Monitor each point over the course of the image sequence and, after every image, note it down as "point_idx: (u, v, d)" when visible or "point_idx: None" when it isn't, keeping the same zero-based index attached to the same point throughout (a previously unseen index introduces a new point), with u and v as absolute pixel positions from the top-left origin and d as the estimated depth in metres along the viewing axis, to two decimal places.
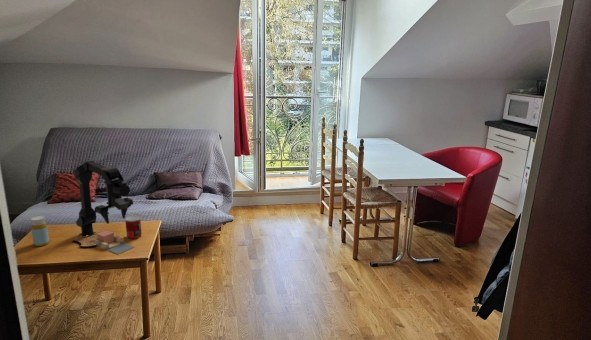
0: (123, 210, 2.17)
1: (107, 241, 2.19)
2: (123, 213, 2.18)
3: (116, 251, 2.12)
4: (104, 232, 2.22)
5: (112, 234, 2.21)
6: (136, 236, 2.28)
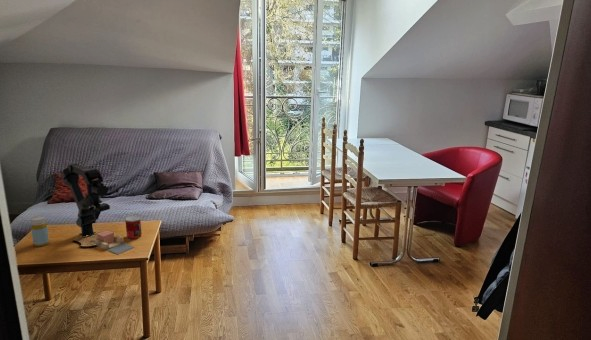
0: None
1: (107, 241, 2.19)
2: None
3: (116, 251, 2.12)
4: (104, 232, 2.22)
5: (112, 234, 2.21)
6: (136, 236, 2.28)
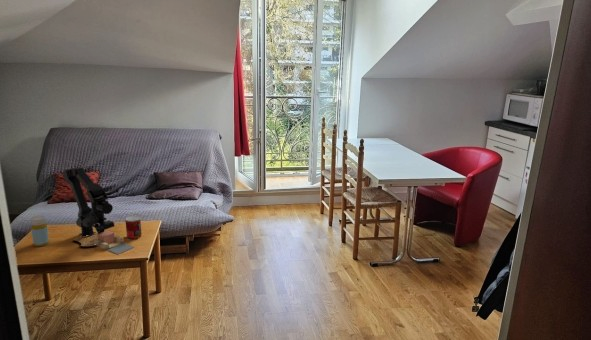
0: None
1: (107, 241, 2.19)
2: None
3: (116, 251, 2.12)
4: (104, 232, 2.22)
5: (112, 234, 2.21)
6: (136, 236, 2.28)
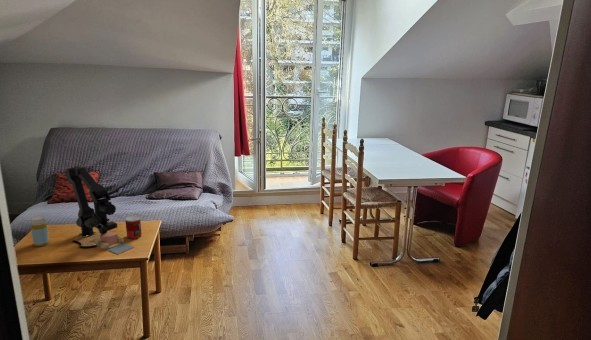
0: None
1: (110, 242, 2.18)
2: None
3: (116, 251, 2.12)
4: (107, 233, 2.21)
5: (115, 235, 2.20)
6: (136, 236, 2.28)
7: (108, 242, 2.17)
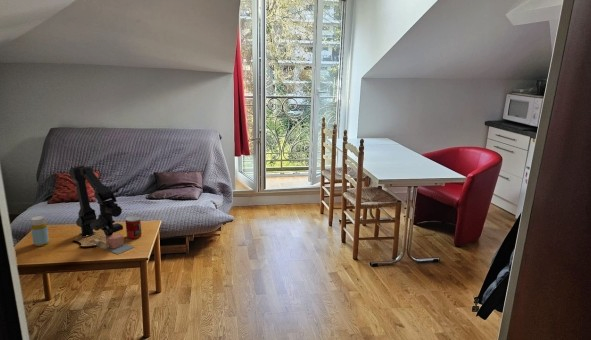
0: None
1: (116, 244, 2.15)
2: None
3: (116, 251, 2.12)
4: (113, 235, 2.18)
5: (121, 237, 2.17)
6: (136, 236, 2.28)
7: (114, 244, 2.14)
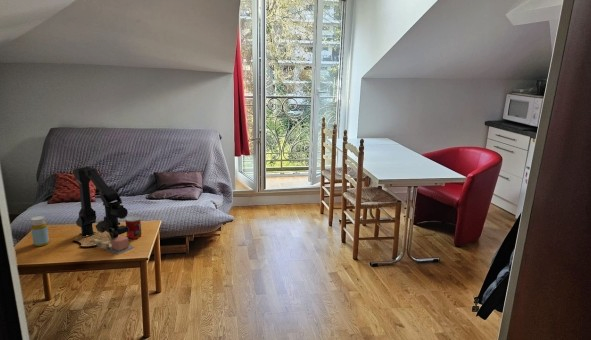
0: None
1: (121, 247, 2.13)
2: None
3: (116, 251, 2.12)
4: (118, 237, 2.16)
5: (127, 239, 2.15)
6: (136, 236, 2.28)
7: (119, 246, 2.12)
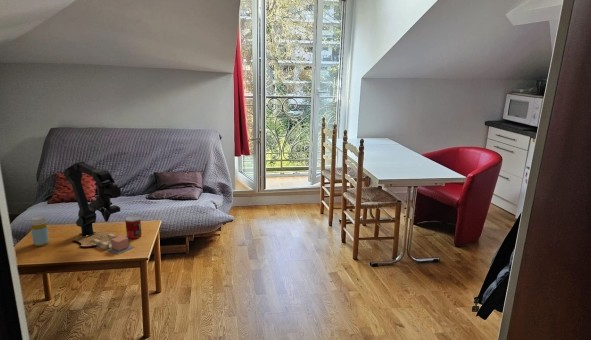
0: None
1: (122, 247, 2.13)
2: None
3: (116, 251, 2.12)
4: (118, 237, 2.16)
5: (127, 239, 2.15)
6: (136, 236, 2.28)
7: (119, 246, 2.12)
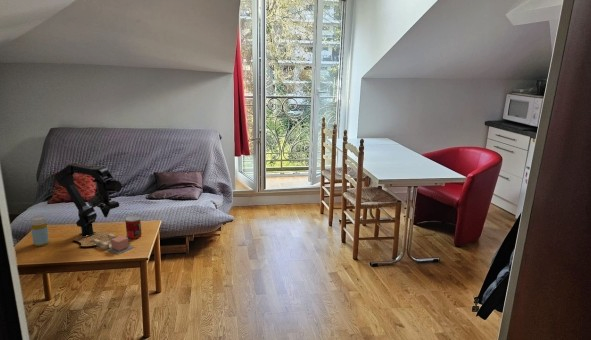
0: None
1: (122, 247, 2.13)
2: None
3: (116, 251, 2.12)
4: (118, 237, 2.16)
5: (127, 239, 2.15)
6: (136, 236, 2.28)
7: (119, 246, 2.12)
